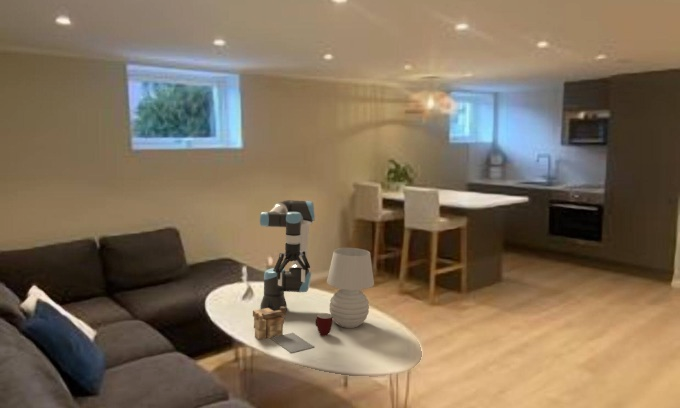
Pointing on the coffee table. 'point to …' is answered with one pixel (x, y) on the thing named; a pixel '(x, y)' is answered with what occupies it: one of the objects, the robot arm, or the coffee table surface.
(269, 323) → the lid
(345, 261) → the table lamp
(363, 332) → the coffee table surface
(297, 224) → the robot arm
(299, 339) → the mat
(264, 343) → the coffee table surface
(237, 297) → the coffee table surface
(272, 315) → the key
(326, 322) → the mug
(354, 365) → the coffee table surface
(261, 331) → the open wooden box
